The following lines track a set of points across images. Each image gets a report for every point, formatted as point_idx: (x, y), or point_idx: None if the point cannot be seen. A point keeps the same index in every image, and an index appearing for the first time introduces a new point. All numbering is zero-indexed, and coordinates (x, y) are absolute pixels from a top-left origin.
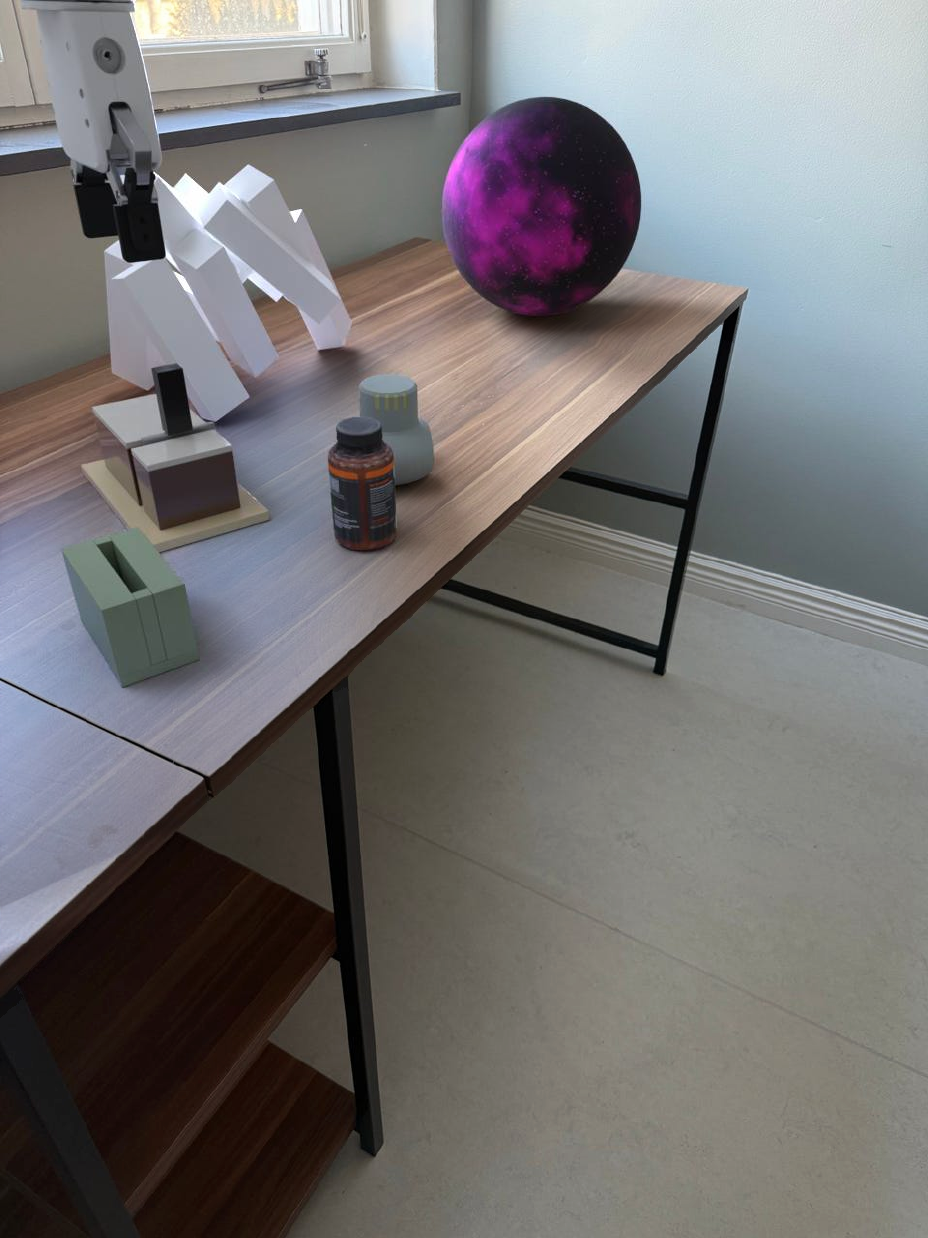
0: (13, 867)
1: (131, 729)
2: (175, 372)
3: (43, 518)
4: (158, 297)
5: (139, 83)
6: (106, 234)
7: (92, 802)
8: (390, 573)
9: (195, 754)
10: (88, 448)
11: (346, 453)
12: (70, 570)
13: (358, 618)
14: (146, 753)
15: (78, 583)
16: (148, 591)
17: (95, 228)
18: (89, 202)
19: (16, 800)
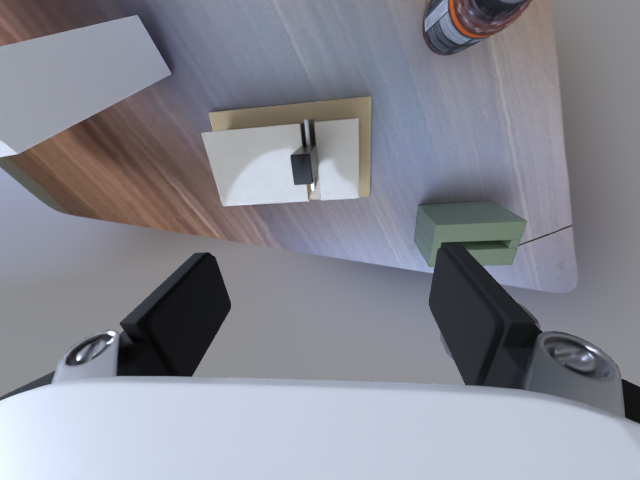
0: (545, 290)
1: None
2: (311, 162)
3: (290, 234)
4: (30, 102)
5: None
6: (222, 281)
7: (541, 264)
8: (514, 29)
9: (555, 224)
10: (193, 189)
11: (512, 9)
12: None
13: (540, 91)
14: (534, 241)
15: None
16: (516, 240)
17: (222, 303)
18: (196, 343)
19: (514, 284)
